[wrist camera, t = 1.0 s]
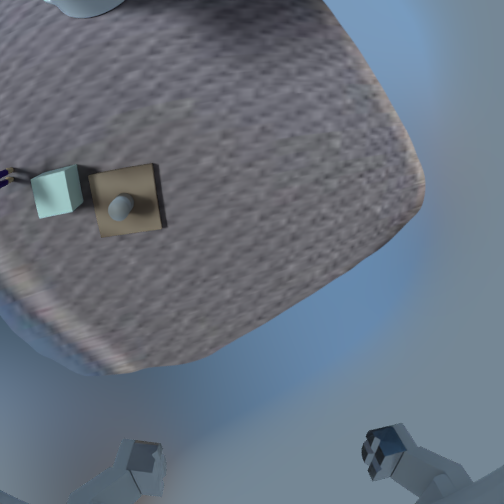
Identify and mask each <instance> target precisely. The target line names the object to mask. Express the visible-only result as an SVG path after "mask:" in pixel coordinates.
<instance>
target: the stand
mask: <svg viewBox="0 0 504 504" xmlns="http://www.w3.org/2000/svg"><path fill="white" fill-rule="evenodd" d="M88 178H89V183H90V189H91V194H92V199H93V204H94V208H95V213H96V217H97V222H98V226H99V230H100V234H101V238H103V237H110V236H116V235H123V234H130V233H137V232H144V231H151V230H158V229H162V222H161V216H160V210H159V204H158V197H157V191H156V184H155V177H154V169H153V163H150V164H144V165H138V166H132V167H126V168H121V169H115V170H110V171H105V172H100V173H95V174H90V175H89V176H88Z"/></svg>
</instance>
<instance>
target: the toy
mask: <svg viewBox="0 0 504 504" xmlns="http://www.w3.org/2000/svg"><path fill="white" fill-rule="evenodd" d="M12 172H13V168H6V169H5V170H3V171H0V178H2V177H4V176H6V175H8V174H10V173H12ZM13 180H14V178H13V177H7V178H6V179H4V180H2V181H0V188H2V187H4V186H6V185H7V184H9V183H11V182H12V181H13Z"/></svg>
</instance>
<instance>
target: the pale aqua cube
mask: <svg viewBox="0 0 504 504" xmlns="http://www.w3.org/2000/svg"><path fill="white" fill-rule="evenodd" d="M31 184H32V189H33V194H34V198H35V202H36V207H37V211H38V215H39V218H44V217H49V216H54V215H59V214H64V213H69V212H73V211H74V210H75V209H76V208H77V207H78V206H79V205H80V204H82V203H83V202H84V201H83V196H82V191H81V186H80V181H79V175H78V169H77V164H76V165H71V166H67V167H63V168H59V169H55V170H51V171H48V172H44V173H42V174H40V175H38V176H36V177H34V178H32V179H31Z"/></svg>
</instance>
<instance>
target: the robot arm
mask: <svg viewBox="0 0 504 504" xmlns="http://www.w3.org/2000/svg"><path fill="white" fill-rule="evenodd" d="M44 1H45V2H46V3H49V4H54V5H56V6H57V7H58V8H59V9H60V10H61V11H62V12H63V13H64V14H66V15H68V16H71V17H75V18H88V17H93V16H97V15H100V14H103V13H105V12H107V11H109V10H111V9H113V8H115V7H116V6H118V5H119V4H121V3H122V2H123V1H124V0H44ZM366 438H367V440H366V441H365V442H364V443H363V446H362V458H363V461H364V463H366V464H367V465H369V468H368V472H369V475H370V477H371V479H372V481H377V480H381V479H385V478H388V477H391V478H392V479H393V480H394V481H396V482H397V483H399V484H400V485H402V486H403V487H405V488H406V489H407V490H409V491H411V492H412V493H413V494H415V495H416V496H418V497H419V499H418V500H417V502H416V503H415V504H504V465H503V466H501V467H500V468H498V469H496V470H495V471H493V472H491V473H490V474H488V475H486V476H485V477H483V478H481V479H479V480H478V481H476V482H474V483H473V481H472V480H471V479H470V477H469V475H468V474H467V473H466V471H465V470H464V468H463V467H462V465H460V464H458V463H456V462H454V461H451V460H449V459H447V458H445V457H442V456H440V455H438V454H436V453H434V452H432V451H429V450H427V449H425V448H423V447H417V445H416V443H415V442H414V440H413V438H412V437H411V435H410V434H409V432H408V431H407V429H406V428H405V426H404V425H403V424H402V423H399V424H395V425H391V426H386V427H382V428H378V429H373V430H369V431H368V432H367V434H366ZM162 450H163V448H162V445H161V443H153V442H146V441H145V442H144V441H138V440H130V439H123V440H122V441H121V444H120V447H119V450H118V453H117V456H116V459H115V462H114V465H113V468H112V467H109V468H107V469H106V470H105V471H103V472H102V473H100V474H99V475H97V476H96V477H94V478H93V479H91V480H90V481H89V482H87V483H86V484H84V485H83V486H81V487H80V488H78V489H76V490H75V491H73V492H72V493H71V494H70V496H69V498H68V501H67V504H133V503H134V502H136V500H138V499H139V498H140V497H141V494H142V495H150V496H160V497H161V496H162V494H163V488H164V483H163V480H162V478H163V477H165V475H166V459H165V456H164V454H162ZM0 504H29V503H26V502H24V501H22V500H20V499H18V498H15V497H13V496H11V495H9V494H7V493H5V492H3V491H1V490H0Z"/></svg>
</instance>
